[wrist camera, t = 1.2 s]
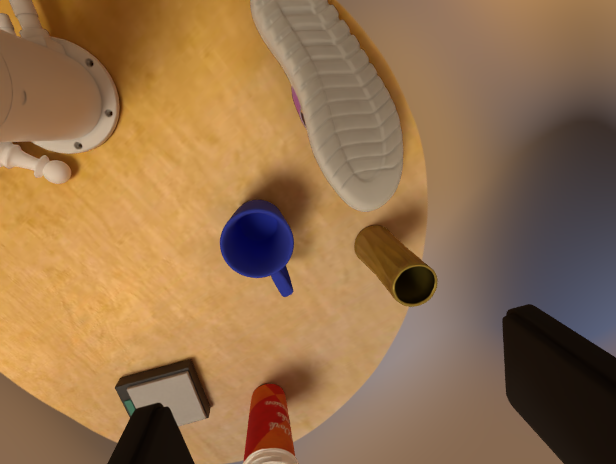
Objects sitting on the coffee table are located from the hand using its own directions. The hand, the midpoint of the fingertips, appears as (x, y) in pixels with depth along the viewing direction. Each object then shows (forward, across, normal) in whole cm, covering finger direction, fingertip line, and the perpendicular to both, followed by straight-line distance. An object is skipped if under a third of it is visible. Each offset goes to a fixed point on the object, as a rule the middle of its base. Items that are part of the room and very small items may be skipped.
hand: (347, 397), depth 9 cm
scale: (+38, +26, +27) cm, 54 cm away
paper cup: (+38, +11, +33) cm, 52 cm away
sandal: (+31, -8, -11) cm, 34 cm away
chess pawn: (+35, +32, -14) cm, 49 cm away
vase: (+39, -11, +11) cm, 42 cm away
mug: (+38, +4, +6) cm, 39 cm away
